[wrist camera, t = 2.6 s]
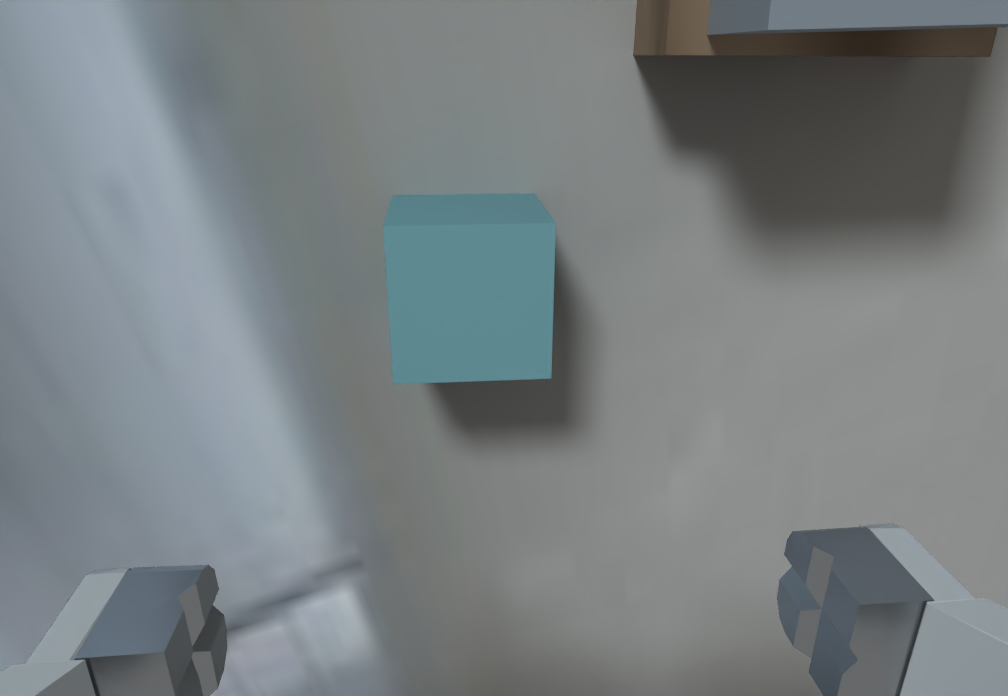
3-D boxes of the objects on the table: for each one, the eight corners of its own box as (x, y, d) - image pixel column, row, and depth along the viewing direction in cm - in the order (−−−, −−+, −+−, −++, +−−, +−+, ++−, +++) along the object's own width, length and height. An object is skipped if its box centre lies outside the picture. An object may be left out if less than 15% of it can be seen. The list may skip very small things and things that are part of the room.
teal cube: (400, 328, 27) (393, 384, 22) (393, 195, 25) (383, 226, 20) (531, 324, 27) (551, 378, 22) (534, 193, 25) (556, 223, 21)
